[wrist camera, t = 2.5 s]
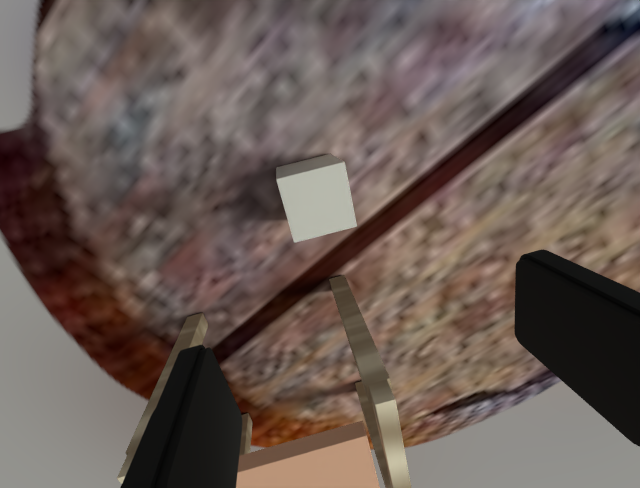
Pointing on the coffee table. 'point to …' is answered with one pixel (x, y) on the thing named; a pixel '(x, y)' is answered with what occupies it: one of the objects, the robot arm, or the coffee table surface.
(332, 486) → the trapdoor
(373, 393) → the trapdoor frame
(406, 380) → the coffee table surface
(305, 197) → the smooth gray block
